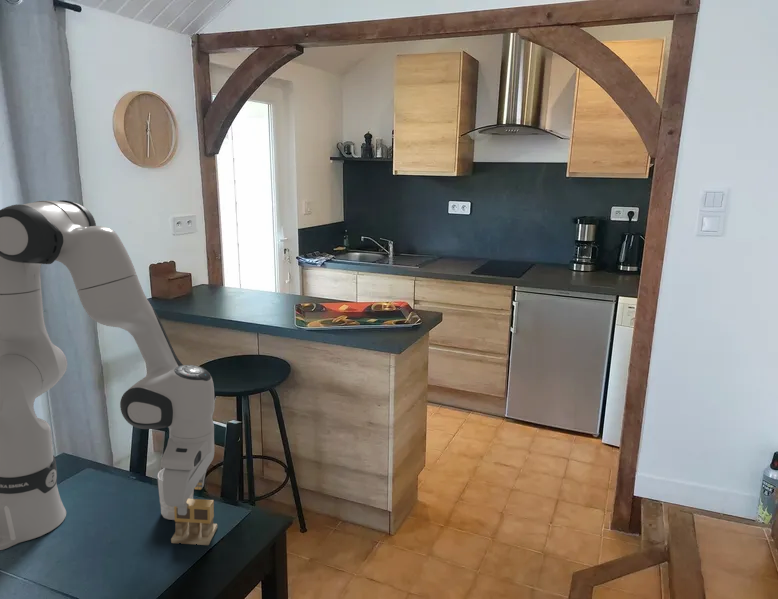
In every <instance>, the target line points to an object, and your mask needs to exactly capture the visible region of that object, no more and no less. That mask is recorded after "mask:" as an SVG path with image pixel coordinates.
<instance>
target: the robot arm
mask: <svg viewBox="0 0 778 599" xmlns="http://www.w3.org/2000/svg"><path fill="white" fill-rule="evenodd" d="M54 262H59V263H61V264H63V265H64V266H65V268H67V270H68V271H69V273H70V275H71V278H72V280H73V284H74V286H75V290H76V292H77V294H78V297H79V300H80V303H81V305H82V307H83V309H84V310H85V313H87V315H88V316H89V317H90V319H91V320H93V321H94V322H96V323H98V324H100V325H103V326H106V327H110V328H111V327H113V328H118V329H119V328H120V329H123V330H125V331H127V332H128V333H129V334H130V335H131V337H133V339H134V341H135V343H136V345H137V347H138V350H139V351H140V354H141V355H142V358H143V360H144V362H145V365H146V368H147V369H146V370H147V371H146V376H144V377H142V378H141V379H140V380H139V381H137V382H136V383H134V384H133V385H132V386H130V387H129V388H128V389H127V390H126V391H125V392H124V393H123V395H122V396H121V398H120V403H119V408H120V413H121V415H122V417H123V418H124V420H125V421H126V422H127V423H128V424H129V425H131V426H132V427H134V428H136V429H139V430H140V429H142V430H154V429H155V430H157V429H166V428H168V430H169V432H168V434H169V438H168V439H167V445H166V447H165V450H164V452H163V455H162V457H161V459H160V467H161V468H162V469H163V468H165V469H164V473H163V494H164V502H165V503H166V505H168V506H177V508H178V514H179V515H186V514H187V512H188V510H189V504H187V500H188V498H189V496H190V495H191V493H192V491H193V490H198V491H201V490H202V489H203V487H204V485H205V478H206V474H207V469H208V468H209V466H210V464H211V463H212V461H213V460H214V458H215V425H214V424H215V423H214V421H213V415H214V411H215V387H214V386H215V385H214V381H213V380H214V379H213V377H212V375H211V373H210V372H209V371H208V370H207V369H206V368H204V367H201V366H198V365H195V364H183V363H182V362H181V361H180V359H179V358H178V356H177V355H176V353H175V350H174V348H173V345H172V343H171V341H170V340H169V337H168V335H167V333H166V330H165V328H164V326H163V324H162V322H161V319H160V318H159V316H158V313H157V312H156V310H155V308H154V307H153V305H152V304H151V303H150V301H149V300H148V298H147V295H146V294H145V292H144V290H143V288H142V285H141V283H140V281H139V278H138V275H137V272H136V269H135V267H134V265H133V262H132V259H131V257H130V255H129V253H128V251H127V249H126V247H125V245H124V243H123V242H122V240H121V239H120V237H119V235H118V234H117V232H116V231H114V230H113V228H109V227H107V226H102V225H97V224H96V221H95V218H94V216H93V213H91V211H89V210H88V209H87V208H86V207H85V206H83V205H81V204H79V203H77V202H74V201H69V200H64V199H63V200H37V201H34V202H28V203H23V204H12V205H8V206H6V207H3V208H2V209H0V551H3V550H5V549H9V548H11V547H12V546H13V547H14V546H15V545H17V544H20V543H23V542H26V541H30V540H31V541H32V540H34V539H36V538H39V537H42V536H44V535H45V534H47V533H48V534H49V533H50V532H52V531H53V530H54V529H56V528H57V527H59V526H60V525H61V524H62V523H63V522H64V520H65V519H66V517H67V510H66V508H65V506H64V504H63V501H62V498H61V496H60V492H59V488H58V485H57V484H58V483H57V482H58V468H57V461H56V456H55V455H54V448H53V437H52V429H51V425H50V424H49V423H48V421H46V420H44V419H42V418H39V417H38V416H37V414H36V411H35V407H34V404H35V400H36V399H38V398H39V397H40V396H42V394H44V393H46V392H48V391H49V390H51V389H52V388H53V387H55V386H56V384H57V383H58V382H59V381H60V380H61V379H62V378H63V376H65V373H66V372H67V369H68V360H67V357H66V356H67V355H65V353H64V352H63V350H62V349H61V348H60V347H58V346H57V345H55V344H54V343H53V342H52V340H51V338H50V336H49V333H48V331H47V327H46V322H45V319H44V307H43V306H44V305H43V295H42V294H43V292H42V282H41V267H42V265H52V264H53V263H54Z"/></svg>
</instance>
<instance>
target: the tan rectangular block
mask: <svg viewBox="0 0 778 599" xmlns="http://www.w3.org/2000/svg"><path fill="white" fill-rule="evenodd" d="M187 504H189V510H188V512H187V514H186V515H179V514H178V508H177V506H174V514H175V520H174V523H176V522H191V523H207V524H210V523H211V521H212V519H213V520H214V517H215V512H214V510H215V508H214V507H215V501H214V499H201V498H193V499H188V500H187Z"/></svg>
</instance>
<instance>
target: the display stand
mask: <svg viewBox="0 0 778 599" xmlns="http://www.w3.org/2000/svg"><path fill="white" fill-rule="evenodd" d="M174 523H175V525H174V526H175V530H174V531H175V532H174V533H173V535H172V537H171V538H170V542H171V544H179V543H181V544H182V545H196V544H197V545H198V546H200V545H201V546H209V545H210V543H211V541H212V539H213V537H214V535H215V533H216V532H217V529H218V523H214V518H213V519H212V521H211V523H210V524H207V523H191V522H174ZM181 544H180V545H181Z"/></svg>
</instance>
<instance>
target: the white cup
mask: <svg viewBox="0 0 778 599" xmlns="http://www.w3.org/2000/svg"><path fill="white" fill-rule="evenodd" d="M164 469H165V468H162V469H161V470H159V471H158V472H157V476H156V477H157V486H158V487H157V488H158V496H159V504H160V513H161V517H162V518H163V519H165V520H172V521H175V514H174V506H168V505H166V503H165V502H164V494H163V473H164ZM194 490H195V489H194ZM194 490H193V491H192V493H191V495H190V496H189V498H188V499H194V493H195V492H194Z"/></svg>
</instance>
